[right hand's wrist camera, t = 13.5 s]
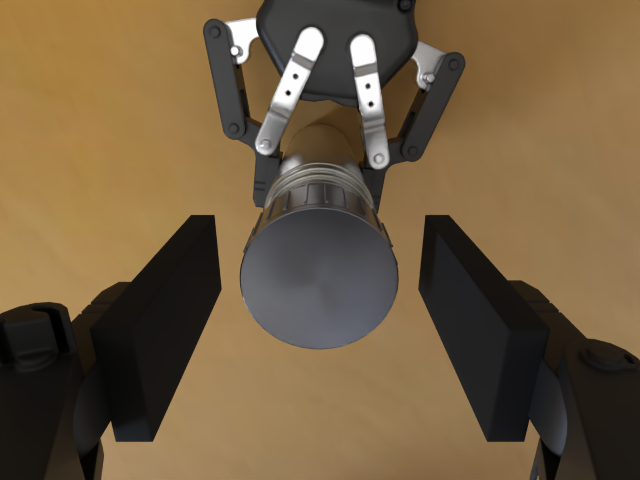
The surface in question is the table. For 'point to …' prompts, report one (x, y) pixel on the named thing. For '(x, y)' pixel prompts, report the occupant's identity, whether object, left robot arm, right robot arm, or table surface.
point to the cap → (319, 268)
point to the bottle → (319, 164)
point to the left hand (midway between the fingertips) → (313, 217)
